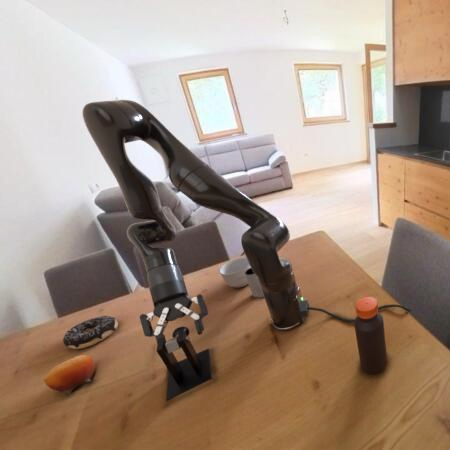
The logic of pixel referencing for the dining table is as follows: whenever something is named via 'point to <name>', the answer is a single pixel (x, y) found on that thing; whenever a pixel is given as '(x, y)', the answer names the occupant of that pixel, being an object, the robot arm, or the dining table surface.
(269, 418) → the dining table surface
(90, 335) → the donut
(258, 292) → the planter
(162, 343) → the bracket
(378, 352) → the bottle
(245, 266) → the teacup
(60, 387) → the fruit
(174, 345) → the lever
